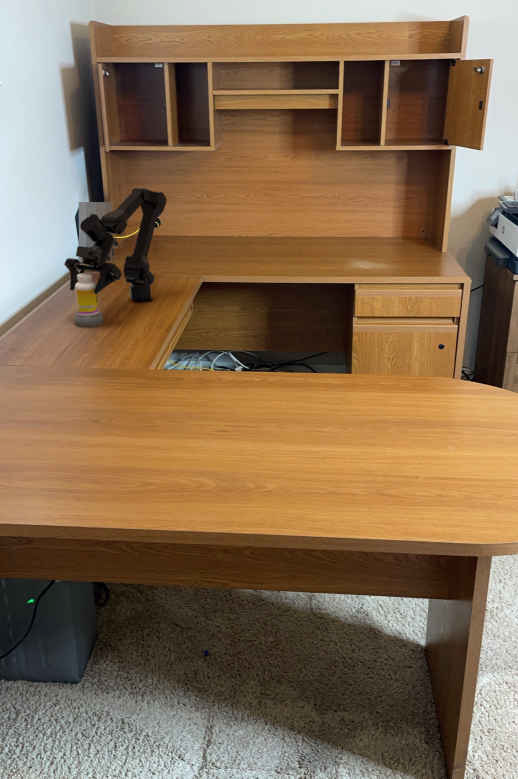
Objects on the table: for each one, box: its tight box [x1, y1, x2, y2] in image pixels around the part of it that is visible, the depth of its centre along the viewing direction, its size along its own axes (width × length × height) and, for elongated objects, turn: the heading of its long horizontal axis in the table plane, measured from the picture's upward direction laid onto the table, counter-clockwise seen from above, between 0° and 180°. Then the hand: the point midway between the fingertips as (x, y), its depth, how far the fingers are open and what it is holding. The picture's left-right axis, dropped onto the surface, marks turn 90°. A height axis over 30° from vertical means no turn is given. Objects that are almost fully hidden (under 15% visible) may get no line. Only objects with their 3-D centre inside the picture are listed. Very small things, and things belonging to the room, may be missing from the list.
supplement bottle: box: [74, 272, 100, 317], centre depth 225 cm, size 7×7×13 cm
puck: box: [73, 310, 104, 328], centre depth 228 cm, size 9×9×3 cm
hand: (83, 291), depth 223 cm, fingers open, 9 cm apart
